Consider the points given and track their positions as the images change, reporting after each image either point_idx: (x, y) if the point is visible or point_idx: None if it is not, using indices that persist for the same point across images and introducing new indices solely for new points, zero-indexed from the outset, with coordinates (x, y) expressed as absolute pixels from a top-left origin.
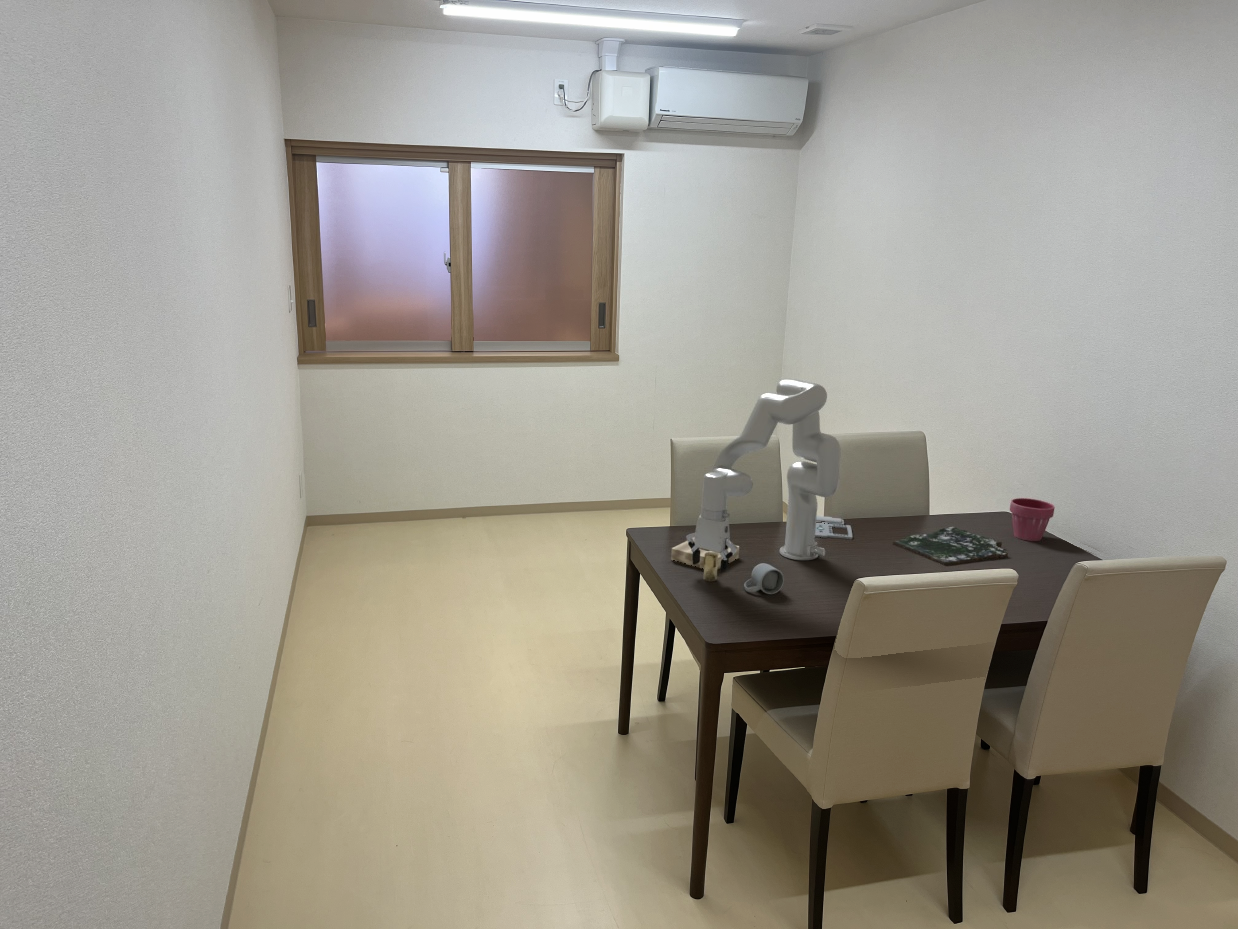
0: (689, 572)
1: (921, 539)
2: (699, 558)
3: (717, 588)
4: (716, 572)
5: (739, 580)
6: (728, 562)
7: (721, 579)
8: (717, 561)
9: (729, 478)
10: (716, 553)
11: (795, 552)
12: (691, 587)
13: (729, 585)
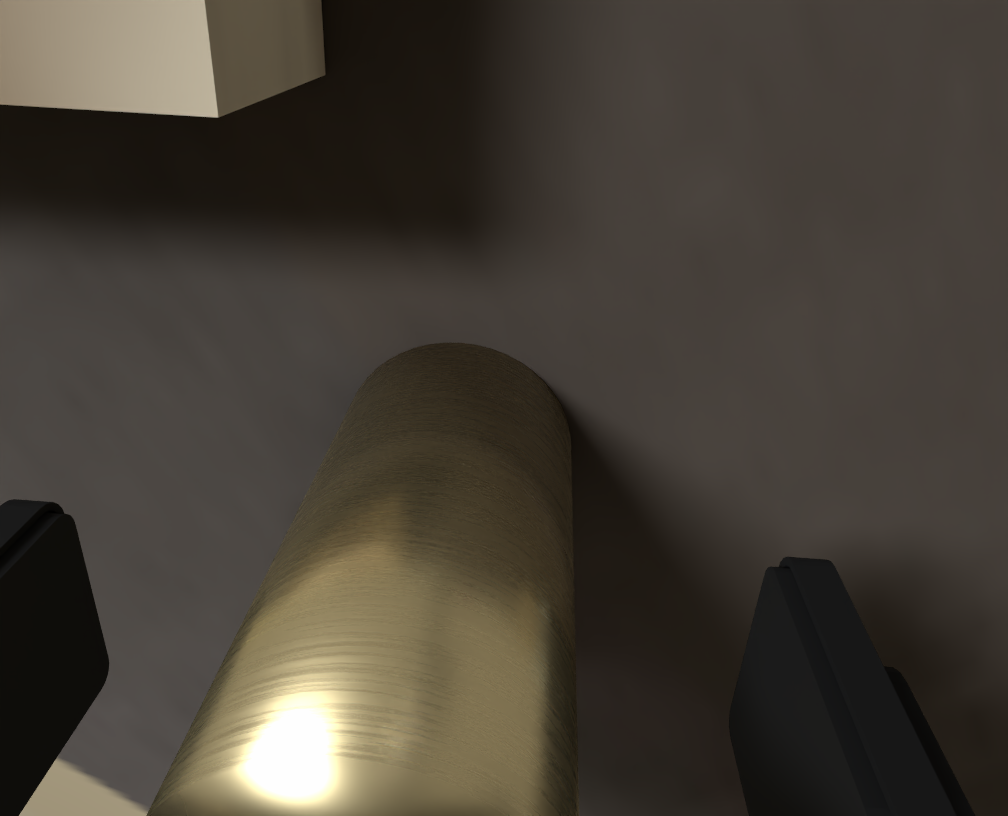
0: (24, 386)
1: None
2: (12, 590)
3: (721, 679)
4: (572, 530)
5: (985, 207)
6: (962, 797)
7: (637, 360)
8: (572, 697)
9: None
10: (452, 800)
11: None
12: None
13: (857, 512)
